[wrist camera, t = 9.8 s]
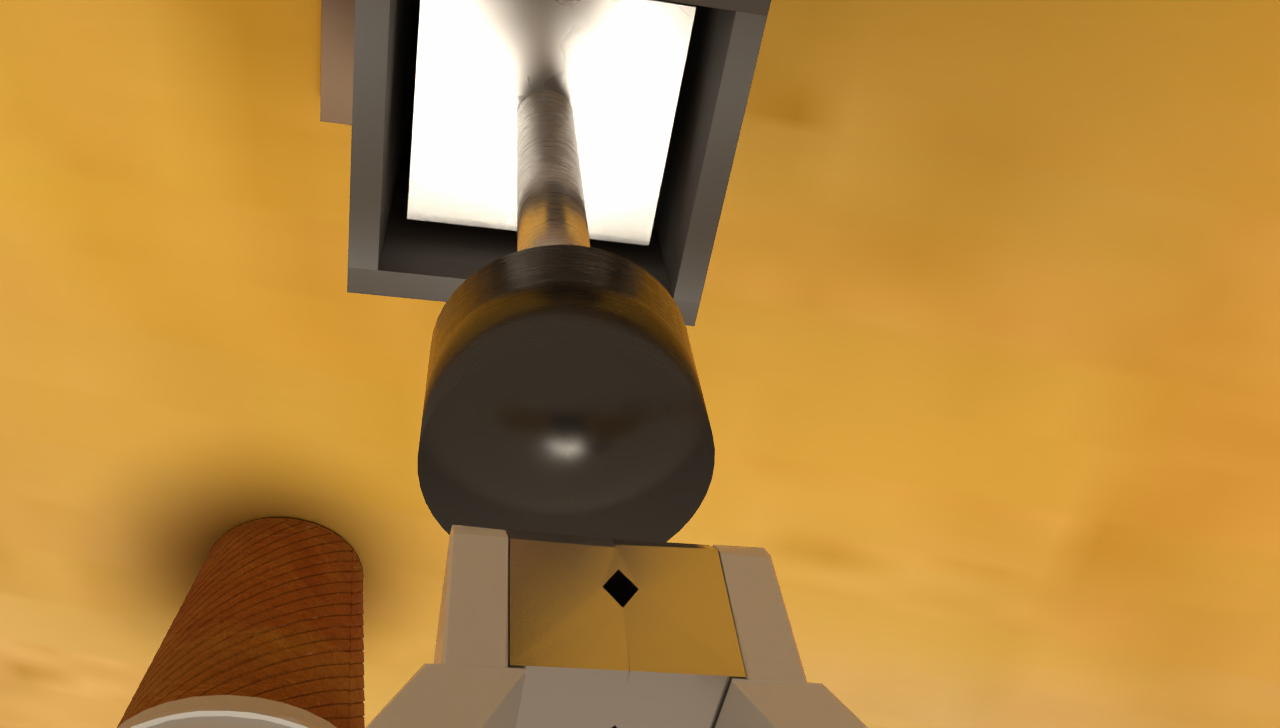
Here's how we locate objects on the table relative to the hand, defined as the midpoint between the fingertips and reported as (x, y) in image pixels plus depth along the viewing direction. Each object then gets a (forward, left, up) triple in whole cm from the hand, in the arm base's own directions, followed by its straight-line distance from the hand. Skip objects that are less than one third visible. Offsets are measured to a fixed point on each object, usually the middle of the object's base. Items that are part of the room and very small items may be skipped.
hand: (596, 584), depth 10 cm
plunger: (+1, 0, -15) cm, 15 cm away
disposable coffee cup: (+27, +7, -26) cm, 38 cm away
